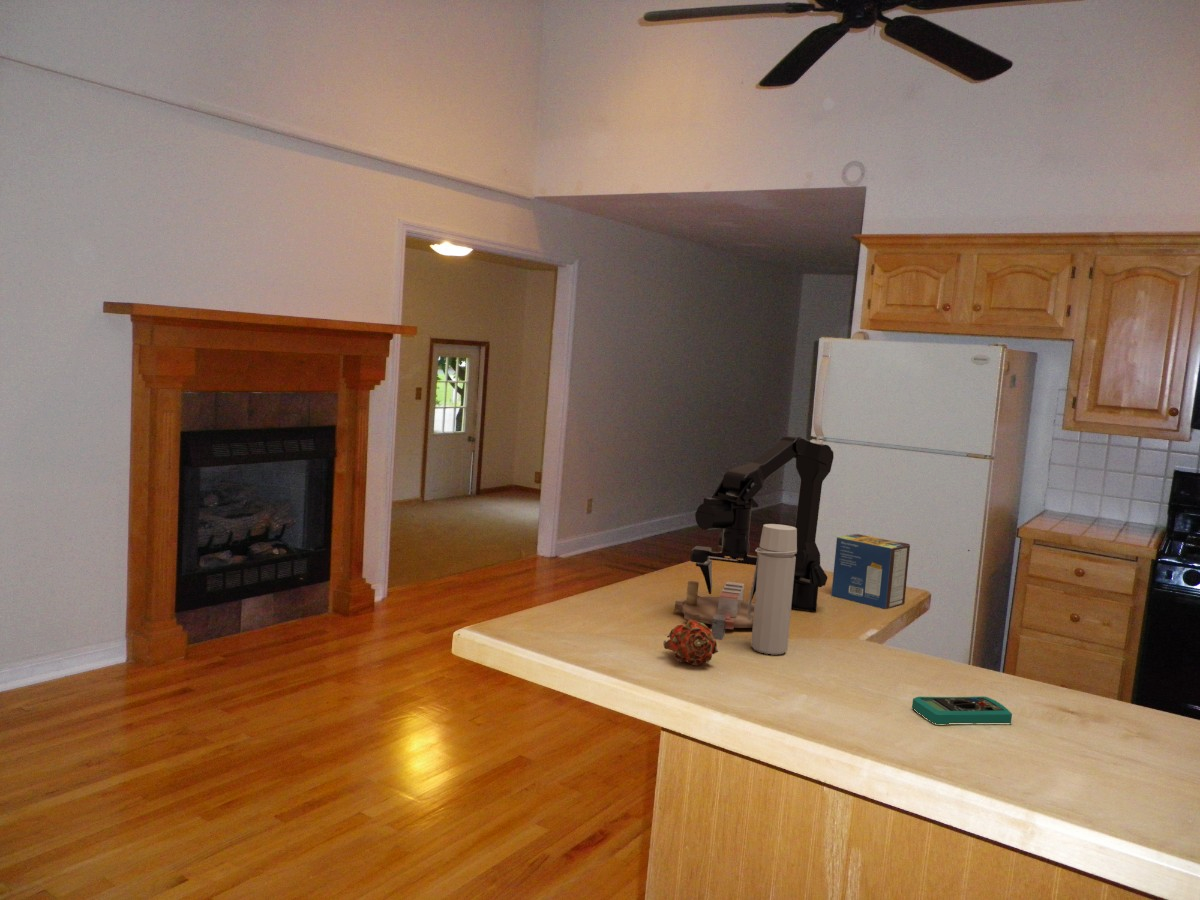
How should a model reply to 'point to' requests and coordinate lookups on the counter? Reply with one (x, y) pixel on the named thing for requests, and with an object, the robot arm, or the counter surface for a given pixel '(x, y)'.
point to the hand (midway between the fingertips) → (730, 596)
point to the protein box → (870, 570)
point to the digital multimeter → (961, 710)
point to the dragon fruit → (692, 643)
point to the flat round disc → (711, 609)
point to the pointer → (718, 626)
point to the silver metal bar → (731, 599)
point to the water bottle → (773, 588)
